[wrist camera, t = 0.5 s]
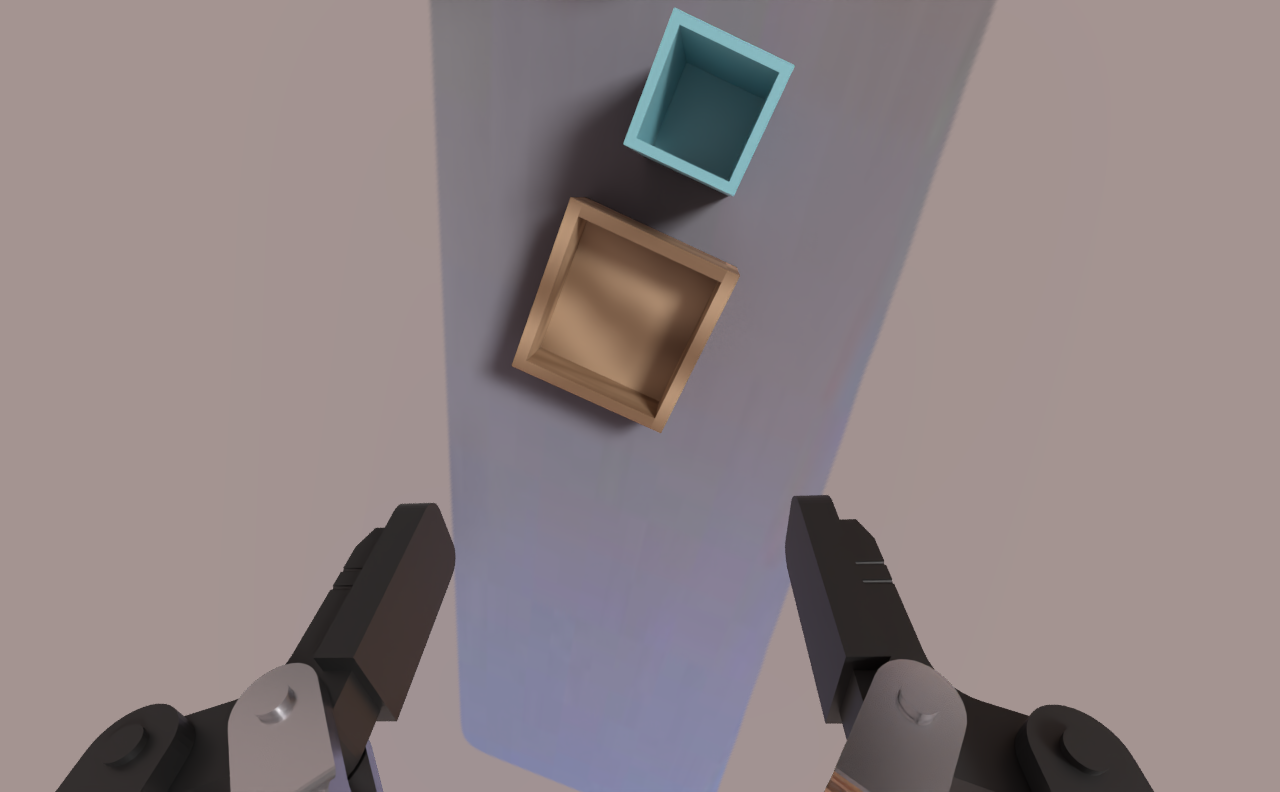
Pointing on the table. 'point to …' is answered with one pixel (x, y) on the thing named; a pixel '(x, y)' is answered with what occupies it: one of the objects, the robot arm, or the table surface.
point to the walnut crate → (622, 313)
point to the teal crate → (706, 103)
